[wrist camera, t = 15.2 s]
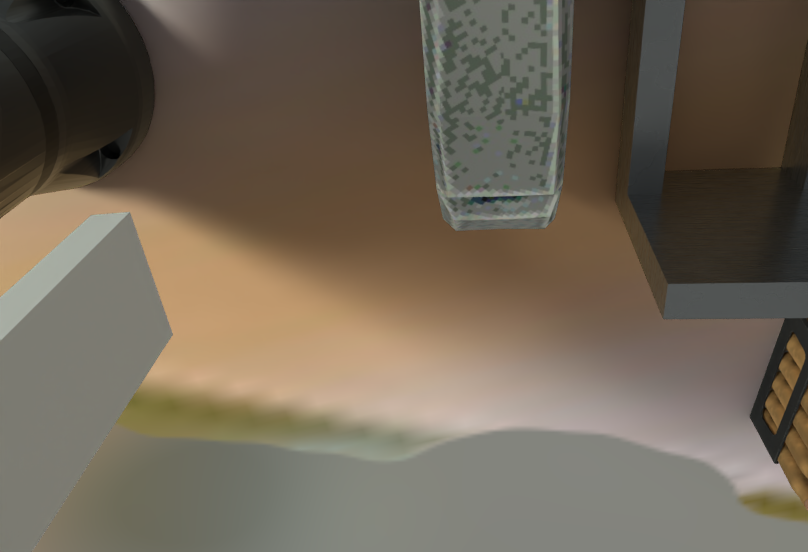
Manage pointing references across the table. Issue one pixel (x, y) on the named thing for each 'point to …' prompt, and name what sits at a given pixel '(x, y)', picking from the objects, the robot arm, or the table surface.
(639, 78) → the rack
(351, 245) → the table surface
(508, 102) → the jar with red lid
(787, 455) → the ammunition clip
